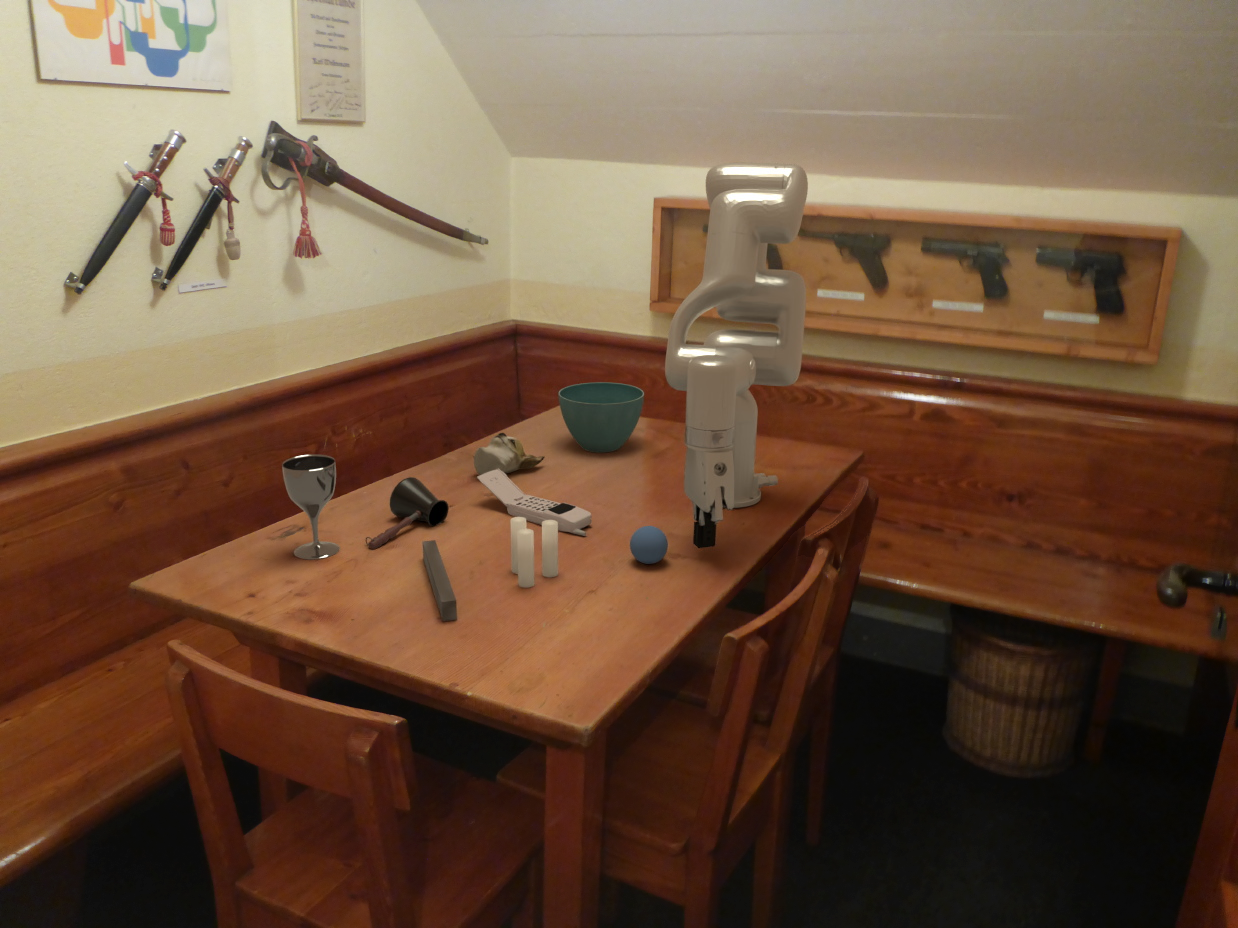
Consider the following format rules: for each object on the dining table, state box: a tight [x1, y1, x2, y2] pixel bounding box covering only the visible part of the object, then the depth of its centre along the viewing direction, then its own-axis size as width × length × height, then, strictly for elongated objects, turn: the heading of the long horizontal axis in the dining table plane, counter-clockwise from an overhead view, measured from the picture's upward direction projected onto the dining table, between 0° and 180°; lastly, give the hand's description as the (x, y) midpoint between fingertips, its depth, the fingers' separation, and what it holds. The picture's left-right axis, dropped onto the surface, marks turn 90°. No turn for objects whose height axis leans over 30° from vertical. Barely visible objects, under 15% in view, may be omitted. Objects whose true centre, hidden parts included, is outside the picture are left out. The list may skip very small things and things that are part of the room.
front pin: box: [541, 520, 559, 578], centre depth 149 cm, size 2×2×8 cm
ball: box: [629, 525, 669, 565], centre depth 154 cm, size 6×6×6 cm
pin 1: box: [509, 516, 527, 575], centre depth 150 cm, size 2×2×8 cm
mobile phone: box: [476, 469, 592, 537], centre depth 172 cm, size 6×6×25 cm
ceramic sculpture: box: [473, 432, 545, 476], centre depth 194 cm, size 11×9×15 cm
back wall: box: [422, 539, 458, 623], centre depth 145 cm, size 2×22×3 cm, turn 18°
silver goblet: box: [281, 454, 341, 561], centre depth 155 cm, size 8×8×15 cm
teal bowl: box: [558, 381, 645, 454], centre depth 210 cm, size 18×18×12 cm
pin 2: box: [517, 528, 535, 589], centre depth 145 cm, size 2×2×8 cm
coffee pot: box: [364, 476, 450, 550], centre depth 166 cm, size 8×18×8 cm
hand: (704, 545), depth 157 cm, fingers closed
